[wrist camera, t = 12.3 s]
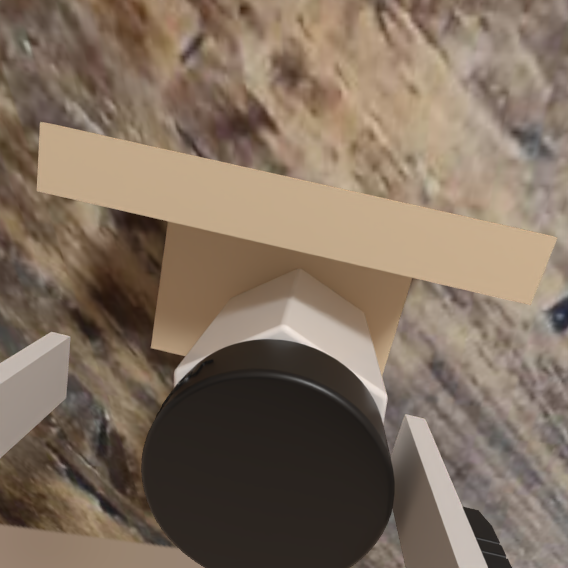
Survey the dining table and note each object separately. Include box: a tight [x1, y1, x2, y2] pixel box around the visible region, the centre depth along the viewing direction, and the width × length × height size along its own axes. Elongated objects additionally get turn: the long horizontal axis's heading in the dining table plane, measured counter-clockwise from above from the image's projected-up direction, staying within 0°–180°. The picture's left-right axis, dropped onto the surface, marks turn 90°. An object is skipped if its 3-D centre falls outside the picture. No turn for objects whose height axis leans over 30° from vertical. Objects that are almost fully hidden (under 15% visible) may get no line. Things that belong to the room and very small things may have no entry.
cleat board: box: [37, 122, 557, 375], centre depth 21 cm, size 18×12×11 cm, turn 78°
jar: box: [141, 269, 395, 568], centre depth 19 cm, size 9×8×12 cm
